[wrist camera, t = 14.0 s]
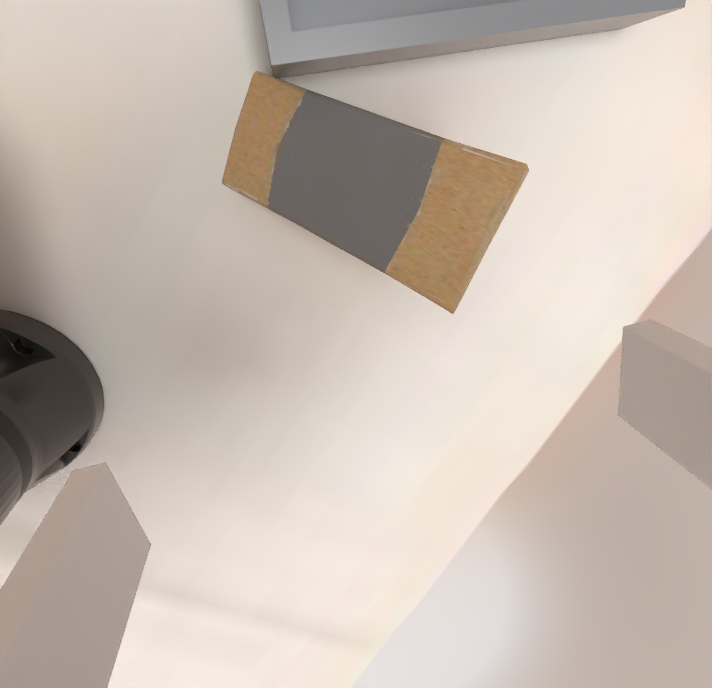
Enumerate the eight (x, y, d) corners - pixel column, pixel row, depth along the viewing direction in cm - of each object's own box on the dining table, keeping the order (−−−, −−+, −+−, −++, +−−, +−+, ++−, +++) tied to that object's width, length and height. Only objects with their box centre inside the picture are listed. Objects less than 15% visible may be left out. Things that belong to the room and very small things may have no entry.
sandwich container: (253, 64, 32) (227, 6, 18) (442, 155, 36) (535, 163, 23) (217, 184, 35) (172, 211, 21) (397, 256, 39) (455, 317, 25)
